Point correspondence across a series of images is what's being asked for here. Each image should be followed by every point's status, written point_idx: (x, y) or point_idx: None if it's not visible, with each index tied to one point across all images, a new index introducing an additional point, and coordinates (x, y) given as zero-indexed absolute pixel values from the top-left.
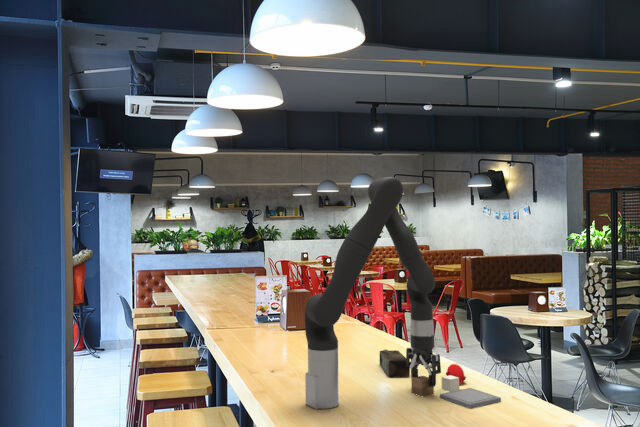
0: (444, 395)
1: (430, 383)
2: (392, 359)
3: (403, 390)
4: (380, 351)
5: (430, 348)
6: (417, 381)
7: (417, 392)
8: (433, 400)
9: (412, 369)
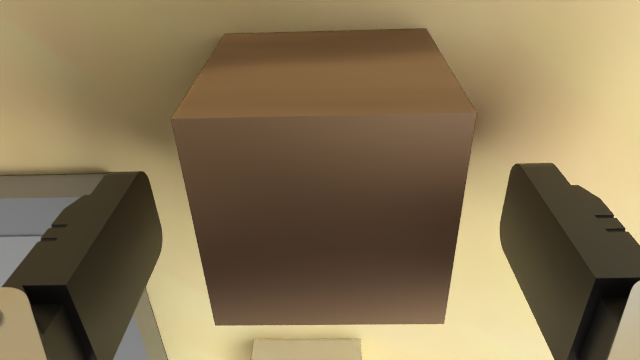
0: (18, 199)
1: (91, 197)
2: None
3: (581, 6)
4: None
5: None
6: (289, 102)
7: (302, 41)
8: (35, 59)
9: (619, 290)
